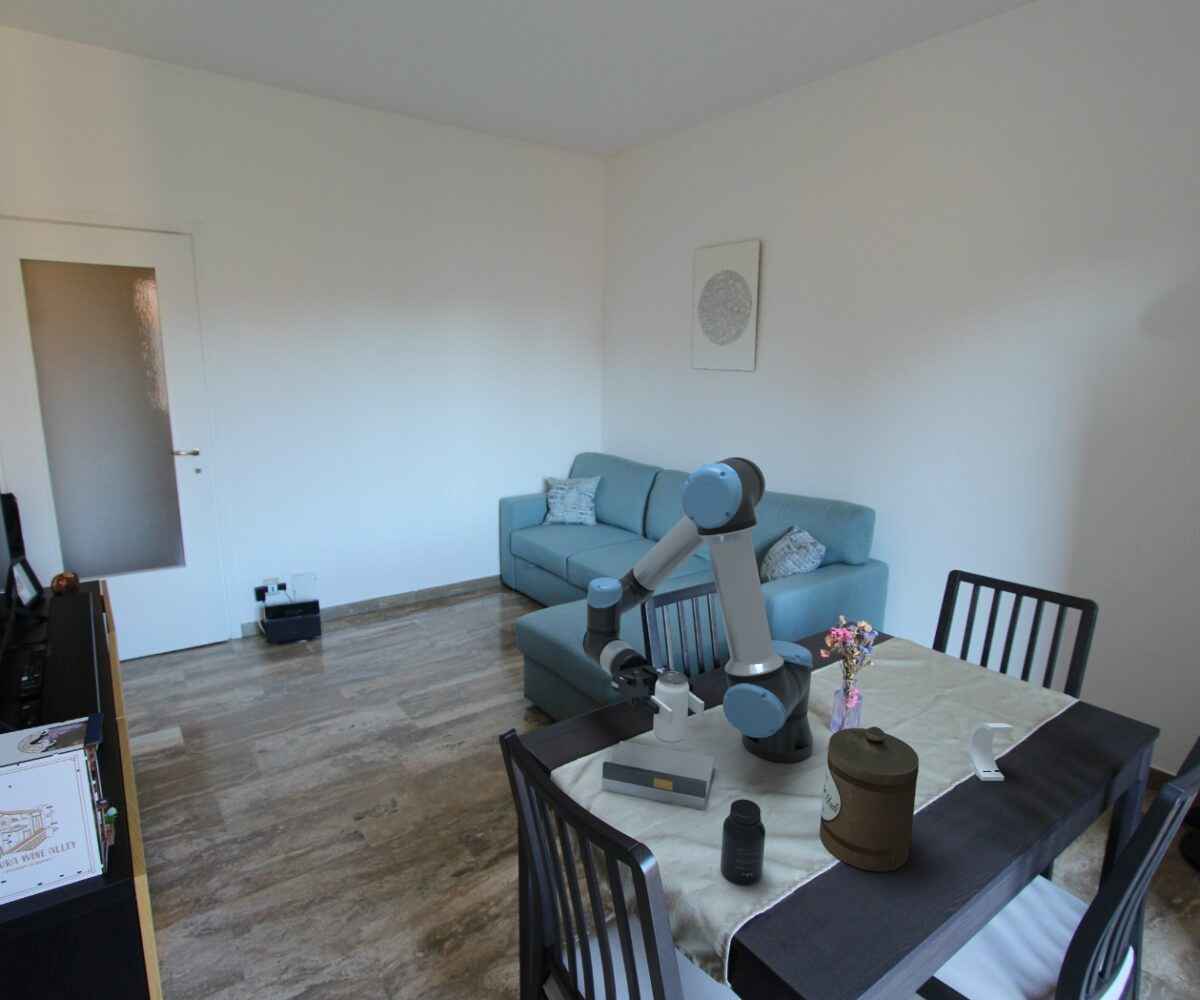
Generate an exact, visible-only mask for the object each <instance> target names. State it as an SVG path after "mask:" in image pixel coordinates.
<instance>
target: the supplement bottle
mask: <svg viewBox="0 0 1200 1000" xmlns="http://www.w3.org/2000/svg"><path fill="white" fill-rule="evenodd" d="M729 810H730V811H729V815H727V817H726V818H725V819H724V821H723V825H722V837H721V839H722V840H721V855H720V870H721V872H722V874H723V876H725V878H726V879H727V880H728V881H730V882H732V883H734V884H737V885H741V886H748V885H753V884H755V883H757V882H758V881H759V880H760V879H761V878H762V875H763V869H764V868H763V867H764V855H765V846H766V845H765V844H766V843H765V842H766V828H765V825H764V823H763V822H762V816H761V814H762V811H761V807H760V806H759V804H757V803H756V802H755V801H753V800H751V799H750V800H749V799H744V798H740V799H736V800H734V801H733V802H732V803H731V804H730V809H729Z"/></svg>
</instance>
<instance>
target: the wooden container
mask: <svg viewBox="0 0 1200 1000" xmlns="http://www.w3.org/2000/svg"><path fill="white" fill-rule="evenodd" d="M919 762H920V760H919V756H918V753H917V752H916V750H914V748H913V747H911V746H910V745H909V744H908V743H907V742H905V741H903V739H902V740H901V739H900V738H897V737H896V736H894V735H892V734H888V733H886V732H885V731H884V730H883V729H881V728H880V727H878V726H870V727H867V728H865V727H864V728H863V727H861V728H860V727H859V728H857V727H851V728H850V727H849V728H844V729H840V730H838V731H836V732H834V733H833V734H832V735H831V736H830V737H829V741H828V747H827V761H826V768H825V777H824V784H823V793H822V802H821V803H822V804H821V812H820V813H821V814H820V823H819V837H820V840H821V842H822V844H823V845H824V847H825V848H826V850H828V851H829V852H830V854H832V855H833V856H834V857H835V858H837V859H839V860H840V861H841V862H843V863H845V864H848V865H849V866H852V867H854V868H857V869H861V870H865V871H868V872H870V871H871V872H879V873H881V872H882V873H883V872H891V871H894V870H898V869H899V868H901V867H902V866H904V864H905V863H906V862H907V860H908V858H909V853H910V848H911V838H912V831H913V825H914V823H913V822H914V814H915V813H914V812H915V804H916V803H915V802H916V791H917V783H918V782H917V780H918V774H919V766H920V765H919V764H920V763H919Z"/></svg>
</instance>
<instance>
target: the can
mask: <svg viewBox="0 0 1200 1000" xmlns="http://www.w3.org/2000/svg"><path fill="white" fill-rule="evenodd" d="M687 680H688V677H687V675H685V674H684V673H681V672H678V671H674V670H673V671H667V672H663V673H661V674H659V675H658V680H657V682H656V685H655V689H654V696H655V697H656V698H657V699H659V700H660V701H662V702H663V703H664V704H665V705H667V706H668V707H669V708H670V709H672V710H673V721H672V724H671V725H668V724H667V723H666V722H665V721H664V720H662V719H661V718H660V717H659V716H658V715H657V714H653V725H652V727H653V730H652V731H653V735H654V736H655V737H656V738H657V739H658V740H660V741H661V742H664V743H668V744H669V743H671V744H674V743H678V742H682V741H683V740H684V739H685V738H686V736H687V731H688V728H687V727H688V717H689V716H688V715H689V707H688V699H689V685H688V682H687Z"/></svg>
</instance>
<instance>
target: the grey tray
mask: <svg viewBox="0 0 1200 1000" xmlns="http://www.w3.org/2000/svg"><path fill="white" fill-rule="evenodd" d="M715 759H716V758H715V757H711V756H707V755H701V754H700V755H699V754H695V753H690V752H689V753H688V752H685V751H678V750H673V749H667V748H661V747H656V746H651V745H645V744H640V743H635V742H634V743H633V742H628V741H623V740H620V741H619V744H618V745H617V747H616V750H615V752H614V753H613V755H612V758H611V759H610V762H609V761H603V762H602V776H601V777H602V778H601V779H602V782H601V784H602V786H601V790H602V791H609V792H612V793H618V794H622V795H628V796H632V797H638V798H643V799H647V800H652V801H657V802H662V803H668V804H671V805H677V806H682V807H687V808H692V809H697V810H702V811H705V809H706V805H707V801H708V796H709V793H710V789H711V788H710V787H711V783H712V779H713V774H714V770H715Z"/></svg>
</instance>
